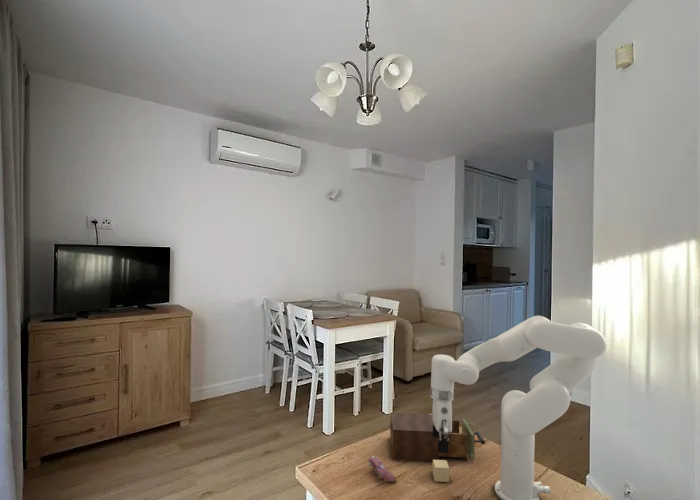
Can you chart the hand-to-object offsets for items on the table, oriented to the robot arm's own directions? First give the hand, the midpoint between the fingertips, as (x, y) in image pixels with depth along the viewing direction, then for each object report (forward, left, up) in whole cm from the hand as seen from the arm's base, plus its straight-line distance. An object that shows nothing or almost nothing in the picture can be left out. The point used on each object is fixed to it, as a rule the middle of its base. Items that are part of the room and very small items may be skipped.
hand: (439, 444), depth 122 cm
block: (0, 0, -11) cm, 11 cm away
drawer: (-9, -17, -10) cm, 22 cm away
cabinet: (+7, -17, -11) cm, 21 cm away
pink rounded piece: (+20, +1, -11) cm, 23 cm away
